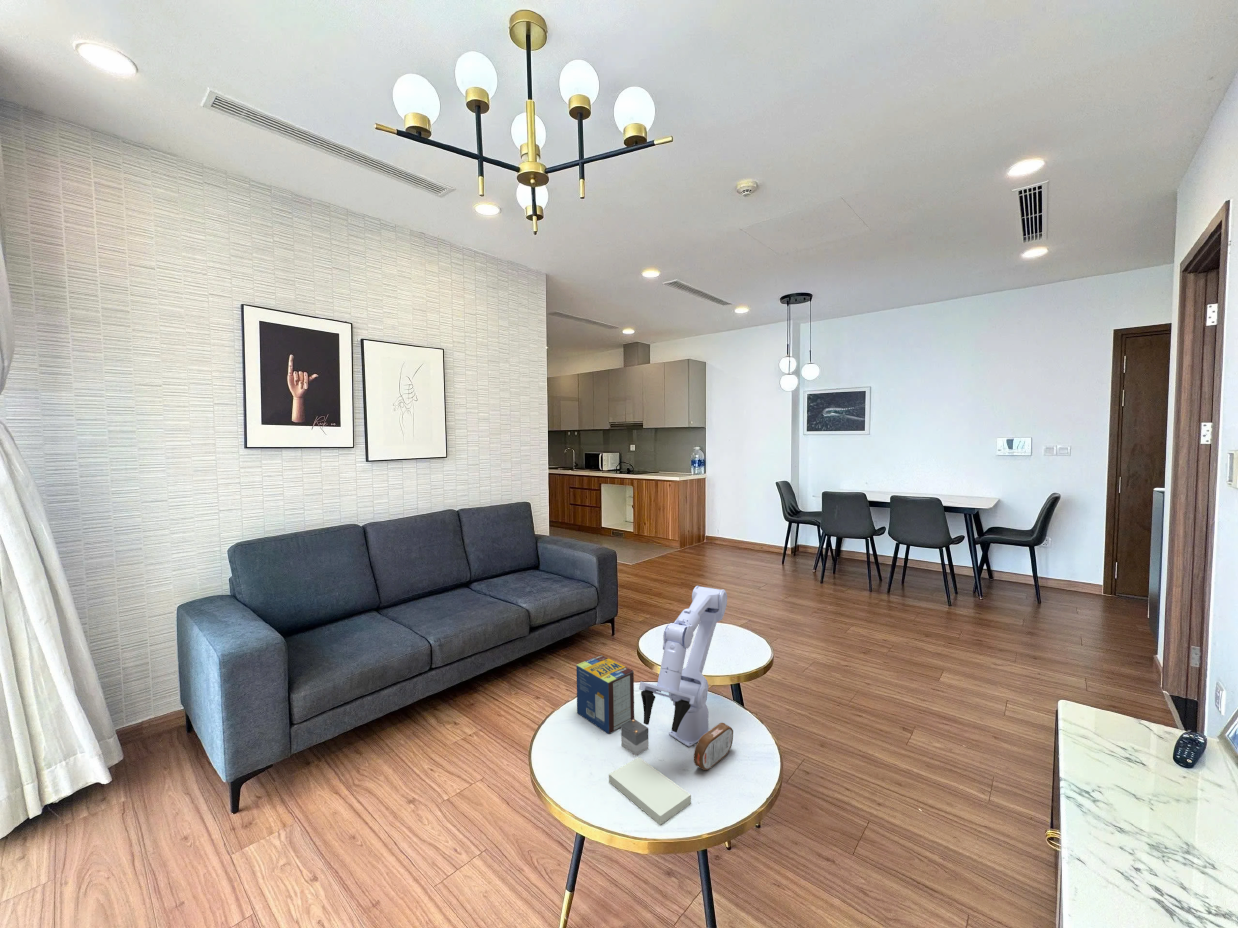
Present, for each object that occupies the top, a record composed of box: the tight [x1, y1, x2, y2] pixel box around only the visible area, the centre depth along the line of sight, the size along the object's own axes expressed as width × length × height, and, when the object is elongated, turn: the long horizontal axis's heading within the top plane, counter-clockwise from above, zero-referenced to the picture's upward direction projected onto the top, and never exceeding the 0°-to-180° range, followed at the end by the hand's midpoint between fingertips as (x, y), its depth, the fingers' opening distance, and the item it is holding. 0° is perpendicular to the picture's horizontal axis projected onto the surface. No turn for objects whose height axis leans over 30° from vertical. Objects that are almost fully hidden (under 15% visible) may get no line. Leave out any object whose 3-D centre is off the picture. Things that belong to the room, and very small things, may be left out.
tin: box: [693, 722, 734, 771], centre depth 130 cm, size 15×3×8 cm, turn 135°
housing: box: [620, 718, 649, 757], centre depth 136 cm, size 5×6×6 cm
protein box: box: [576, 654, 635, 735], centre depth 151 cm, size 10×15×16 cm
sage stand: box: [608, 756, 692, 825], centre depth 119 cm, size 10×18×2 cm, turn 40°
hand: (660, 727), depth 125 cm, fingers open, 7 cm apart
